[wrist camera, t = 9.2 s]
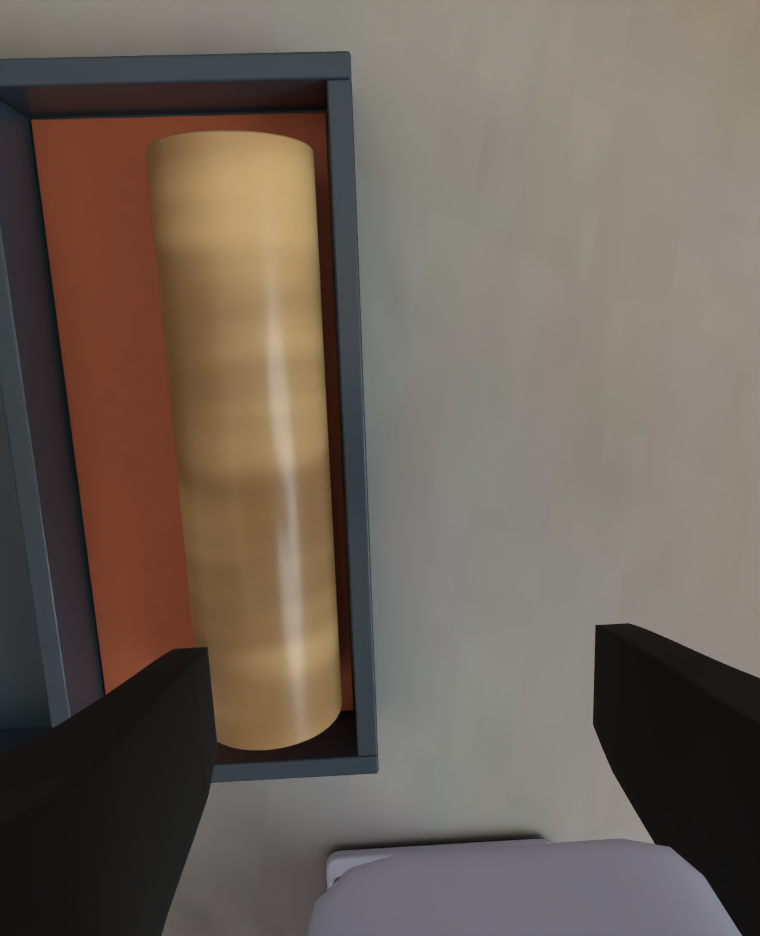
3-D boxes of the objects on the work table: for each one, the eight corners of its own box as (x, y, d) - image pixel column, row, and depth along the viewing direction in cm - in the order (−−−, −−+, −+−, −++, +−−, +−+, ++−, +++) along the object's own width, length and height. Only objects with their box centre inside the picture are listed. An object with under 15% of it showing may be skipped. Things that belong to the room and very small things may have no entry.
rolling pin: (277, 662, 23) (370, 701, 20) (172, 717, 20) (266, 771, 17) (242, 176, 20) (347, 150, 17) (111, 153, 17) (215, 118, 14)
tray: (375, 716, 23) (378, 774, 20) (-170, 746, 23) (-247, 809, 20) (350, 91, 19) (350, 49, 16) (-314, 107, 18) (-438, 67, 16)
